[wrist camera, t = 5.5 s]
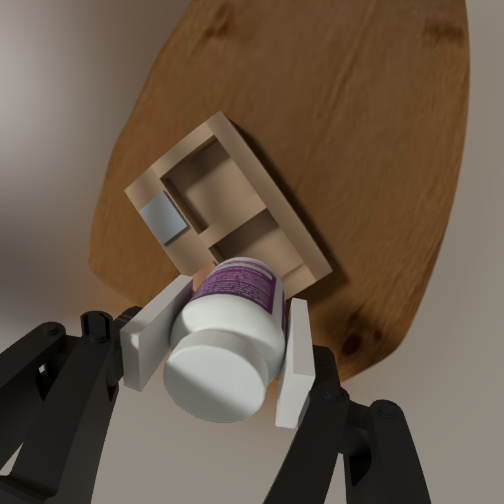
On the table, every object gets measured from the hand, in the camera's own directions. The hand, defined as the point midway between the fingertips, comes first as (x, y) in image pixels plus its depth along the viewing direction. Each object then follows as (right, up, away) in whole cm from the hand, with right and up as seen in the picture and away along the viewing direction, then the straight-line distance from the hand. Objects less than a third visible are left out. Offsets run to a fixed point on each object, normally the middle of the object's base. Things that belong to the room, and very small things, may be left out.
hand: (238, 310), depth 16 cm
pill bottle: (0, 0, +4) cm, 4 cm away
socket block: (-1, +6, +14) cm, 15 cm away
